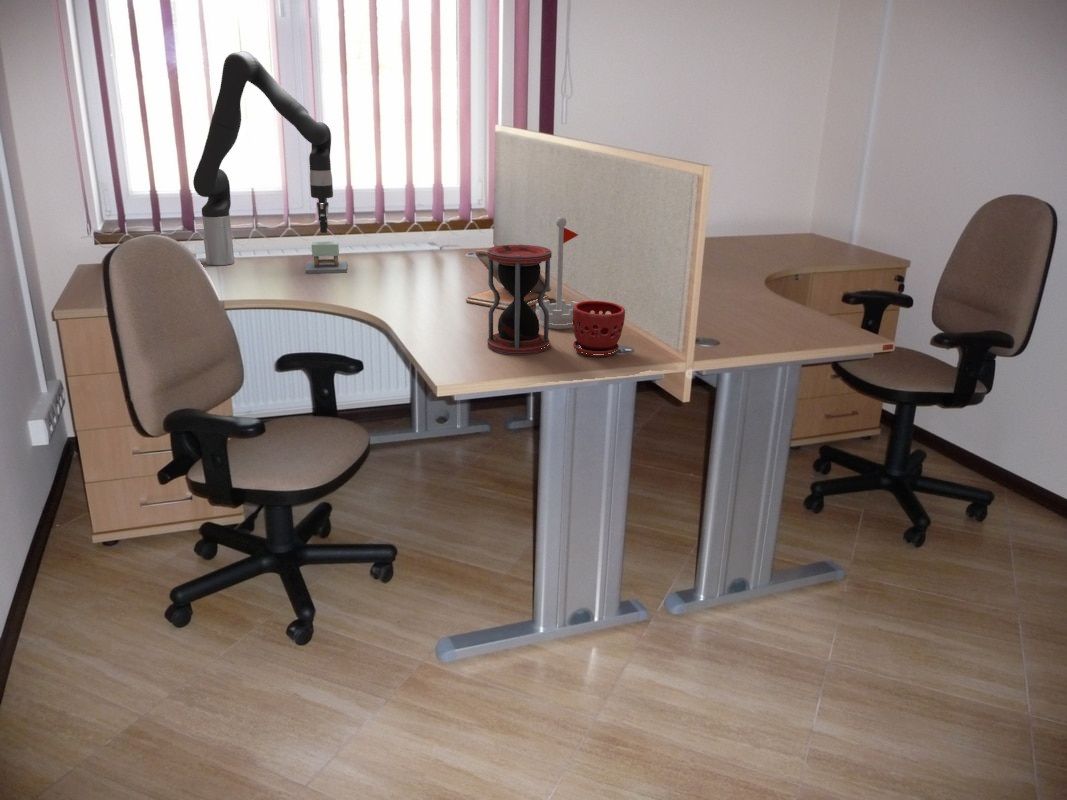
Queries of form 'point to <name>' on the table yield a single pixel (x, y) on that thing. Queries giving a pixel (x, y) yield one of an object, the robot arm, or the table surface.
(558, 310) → the flag stand
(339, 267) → the mat
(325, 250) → the mint green toy brick
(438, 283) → the table surface
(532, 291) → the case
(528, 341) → the hourglass
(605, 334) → the plant pot
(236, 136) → the robot arm
